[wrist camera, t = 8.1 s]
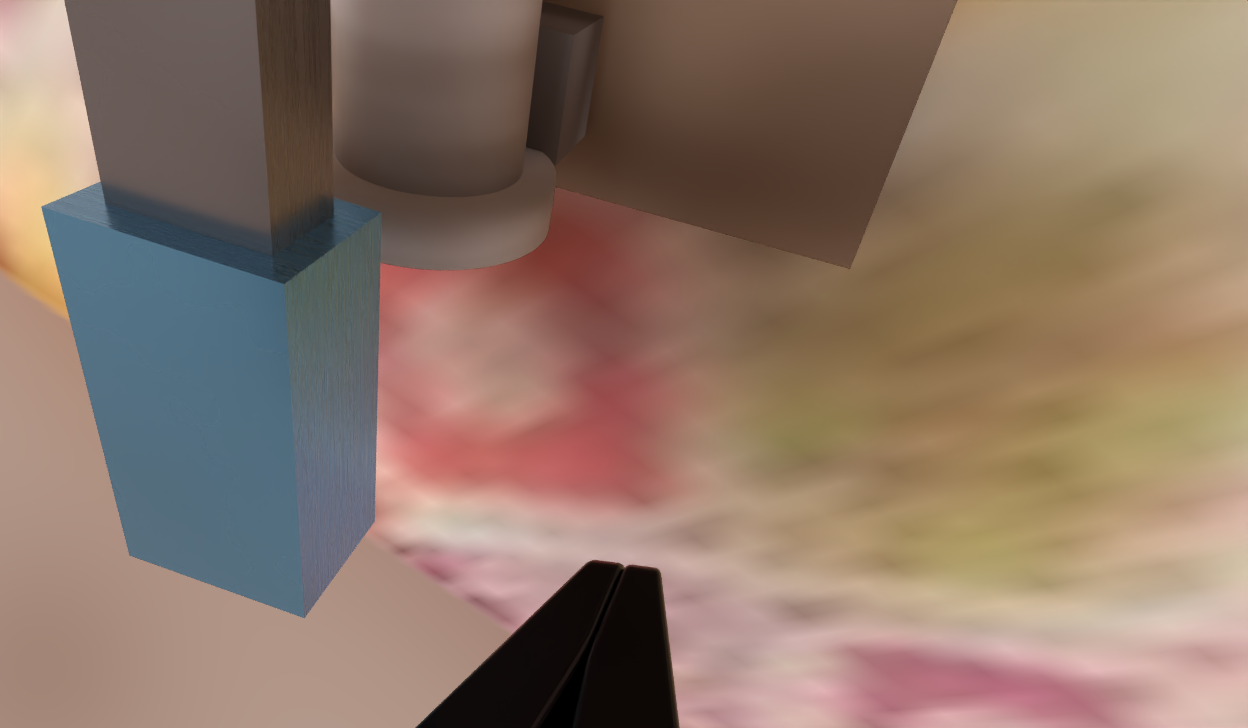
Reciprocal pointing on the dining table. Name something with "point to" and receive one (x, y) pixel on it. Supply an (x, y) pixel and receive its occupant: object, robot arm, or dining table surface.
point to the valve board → (622, 116)
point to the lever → (223, 292)
